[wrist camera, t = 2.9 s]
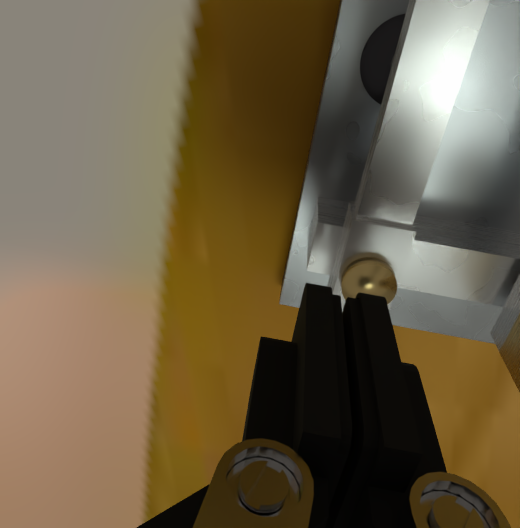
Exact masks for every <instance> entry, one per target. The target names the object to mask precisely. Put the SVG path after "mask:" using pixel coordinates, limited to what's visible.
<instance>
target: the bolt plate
mask: <svg viewBox="0 0 520 528" xmlns="http://www.w3.org/2000/svg"><path fill="white" fill-rule="evenodd" d="M519 274H520V0H340V5H339V10H338V14H337V19H336V24H335V29H334V34H333V39H332V43H331V48H330V53H329V58H328V63H327V68H326V73H325V77H324V82H323V87H322V92H321V97H320V102H319V107H318V111H317V116H316V121H315V126H314V131H313V136H312V141H311V145H310V150H309V155H308V160H307V165H306V170H305V175H304V179H303V184H302V189H301V194H300V199H299V204H298V209H297V213H296V218H295V223H294V228H293V233H292V238H291V243H290V247H289V252H288V257H287V262H286V267H285V272H284V276H283V281H282V286H281V294H280V303H279V304H283V305H288V306H294V307H299V308H300V303H301V299H302V295H303V291H304V287H305V284H306V283H311V284H316V285H322V286H327V287H331V288H332V294H333V295H339V296H341V305H342V311H343V308H344V304H345V301H346V299H347V298H348V297H350V298H356V295H357V294H358V293H359V292H360V293H366V294H371V295H377V296H382V297H385V298H386V301H387V305H388V309H389V313H390V318H391V322H392V325H396V326H402V327H407V328H413V329H418V330H424V331H429V332H434V333H440V334H445V335H451V336H456V337H461V338H467V339H472V340H478V341H483V342H489V343H494V344H495V342H494V340H493V338H492V336H491V334H490V333H491V331H492V329H493V327H494V325H495V323H496V321H497V319H498V317H499V315H500V313H501V311H502V309H503V307H504V305H505V303H506V301H507V299H508V297H509V295H510V293H511V291H512V289H513V287H514V285H515V283H516V281H517V278H518V276H519Z"/></svg>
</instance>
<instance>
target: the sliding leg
mask: <svg viewBox="0 0 520 528" xmlns="http://www.w3.org/2000/svg"><path fill="white" fill-rule="evenodd" d="M490 334H491V336H492V338H493V340H494V342H495V344H496V346H497V348H498V350H499V353H500V355H501V357H502V359H503V360H504V362H505V364H506V366H507V368H508V370H509V372H510V374H511V376H512V378H513V380H514V382H515V384H516V386H517V388H518V390H519V392H520V274H519V276H518V278H517V281H516V283H515V285H514V287H513V289H512V291H511V293H510V295H509V297H508V299H507V301H506V303H505V305H504V307H503V309H502V311H501V313H500V315H499V317H498V319H497V321H496V323H495V325H494V327H493V329H492V331H491V333H490Z"/></svg>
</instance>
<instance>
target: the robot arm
mask: <svg viewBox="0 0 520 528" xmlns="http://www.w3.org/2000/svg"><path fill="white" fill-rule="evenodd" d="M137 528H511V526H510V524H509V522H508V520H507V518H506V517H505V515H504V514H503V512H502V511H501V509H500V508H499V506H498V505H497V503H496V502H495V501H494V500H493V499H492V498H491V497H490V496H489V495H488V494H487V493H486V492H485V491H484V490H482V489H481V488H479V487H478V486H476V485H475V484H474V483H472V482H471V481H469V480H467V479H464V478H462V477H460V476H457V475H455V474H450V473H447V471H446V467H445V464H444V460H443V457H442V453H441V449H440V446H439V442H438V439H437V435H436V432H435V428H434V424H433V421H432V417H431V414H430V410H429V407H428V403H427V400H426V396H425V392H424V389H423V385H422V382H421V378H420V375H419V372H418V369H417V367H416V366H415V365H413V364H408V363H403V362H401V359H400V355H399V351H398V347H397V343H396V338H395V334H394V330H393V326H392V322H391V318H390V313H389V309H388V305H387V301H386V298H385V297H382V296H377V295H371V294H366V293H360V292H359V293H358V294H357V295H356V298H350V297H348V298H347V299H346V301H345V304H344V308H343V311H342V305H341V296H339V295H333V294H332V288H331V287H327V286H322V285H316V284H311V283H306V284H305V287H304V291H303V295H302V299H301V303H300V308H299V312H298V316H297V321H296V325H295V329H294V333H293V338H292V342H288V341H283V340H278V339H272V338H267V337H261V338H260V343H259V348H258V353H257V359H256V364H255V369H254V375H253V380H252V386H251V391H250V397H249V403H248V409H247V415H246V422H245V428H244V434H243V440H242V442H240V443H237V444H235V445H234V446H232V447H231V448H230V449H229V450H227V451H226V452H225V453H224V455H223V456H222V458H221V460H220V461H219V463H218V465H217V467H216V470H215V472H214V475H213V477H212V480H211V483H210V484H209V485H207V486H206V487H204V488H202V489H201V490H199V491H197V492H196V493H194V494H192V495H191V496H189V497H187V498H186V499H184V500H182V501H180V502H179V503H177V504H175V505H174V506H172V507H170V508H169V509H167V510H165V511H164V512H162V513H160V514H159V515H157V516H155V517H154V518H152V519H150V520H149V521H147V522H145V523H144V524H142V525H140V526H138V527H137Z"/></svg>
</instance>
